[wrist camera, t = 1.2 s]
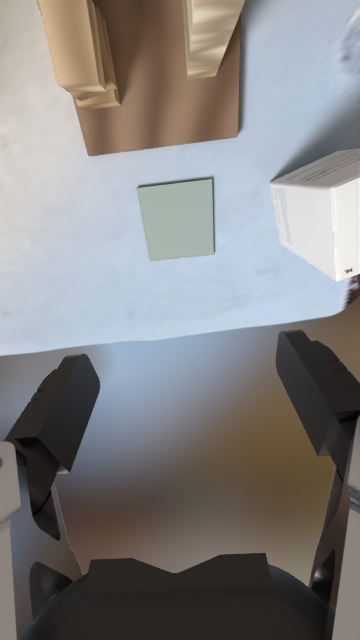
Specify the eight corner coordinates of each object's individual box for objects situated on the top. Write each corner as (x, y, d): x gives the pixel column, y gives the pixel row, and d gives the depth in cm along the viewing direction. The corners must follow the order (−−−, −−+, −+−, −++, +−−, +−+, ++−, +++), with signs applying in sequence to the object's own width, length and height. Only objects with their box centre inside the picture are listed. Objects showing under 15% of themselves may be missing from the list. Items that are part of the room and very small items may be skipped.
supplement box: (341, 220, 33) (441, 250, 20) (278, 244, 35) (335, 285, 22) (339, 147, 28) (467, 129, 16) (267, 180, 30) (331, 187, 18)
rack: (91, 156, 29) (3, 141, 14) (43, -30, 21) (-252, -470, 7) (235, 137, 28) (297, 101, 13) (240, -65, 20) (398, -662, 6)
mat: (150, 260, 36) (149, 261, 36) (137, 187, 31) (136, 188, 30) (213, 253, 35) (213, 254, 35) (211, 178, 30) (212, 178, 30)
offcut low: (85, 110, 25) (77, 105, 23) (64, 28, 22) (53, 13, 20) (120, 105, 25) (115, 99, 23) (105, 21, 22) (97, 6, 20)
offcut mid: (80, 101, 23) (71, 94, 21) (50, 18, 20) (36, 1, 18) (117, 88, 23) (111, 80, 21) (92, 0, 20) (82, -19, 18)
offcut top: (68, 92, 21) (57, 83, 19) (50, 6, 18) (35, -15, 16) (106, 91, 21) (98, 83, 19) (94, 5, 18) (84, -15, 16)
